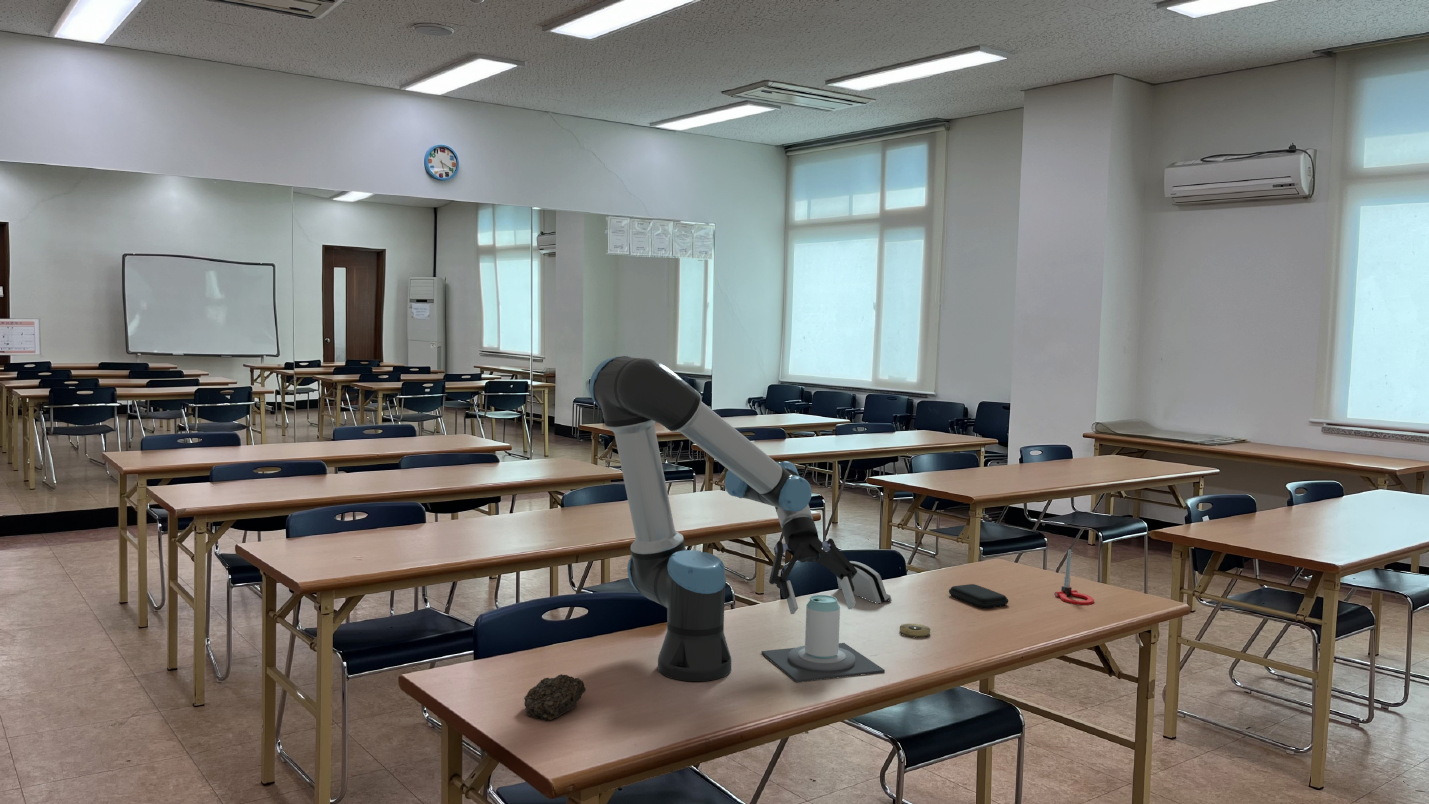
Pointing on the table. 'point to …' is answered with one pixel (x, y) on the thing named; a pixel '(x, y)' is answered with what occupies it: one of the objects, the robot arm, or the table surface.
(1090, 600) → the tow hook
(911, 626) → the small brass flange
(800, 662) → the flange station
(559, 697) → the concrete sample
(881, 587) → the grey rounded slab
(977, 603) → the carrying case or bag
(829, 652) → the can
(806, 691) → the table surface
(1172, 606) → the table surface
